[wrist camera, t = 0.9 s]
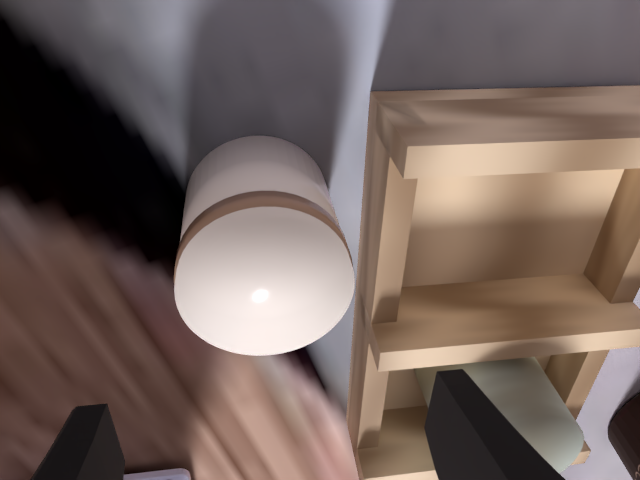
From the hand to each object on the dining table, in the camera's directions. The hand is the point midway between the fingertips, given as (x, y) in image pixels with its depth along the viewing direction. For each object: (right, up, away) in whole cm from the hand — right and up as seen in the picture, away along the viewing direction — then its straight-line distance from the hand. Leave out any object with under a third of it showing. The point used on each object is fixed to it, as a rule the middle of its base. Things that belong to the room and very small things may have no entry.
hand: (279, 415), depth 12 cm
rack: (+8, +2, +12) cm, 14 cm away
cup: (-1, +5, +8) cm, 10 cm away
